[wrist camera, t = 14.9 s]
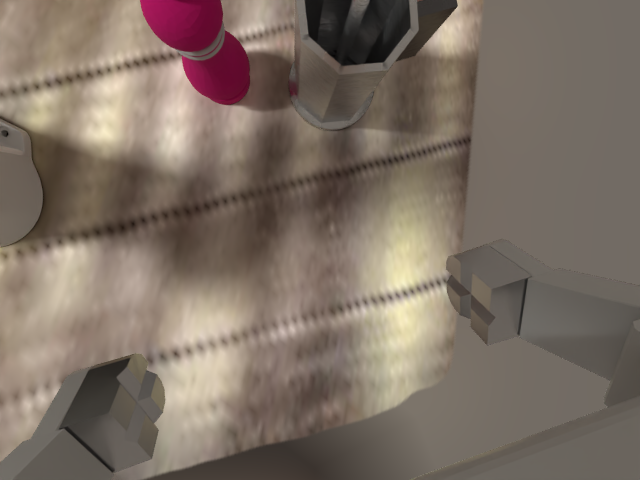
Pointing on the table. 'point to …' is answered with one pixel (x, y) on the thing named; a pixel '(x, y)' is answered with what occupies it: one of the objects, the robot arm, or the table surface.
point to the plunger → (350, 31)
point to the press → (354, 53)
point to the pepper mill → (202, 46)
